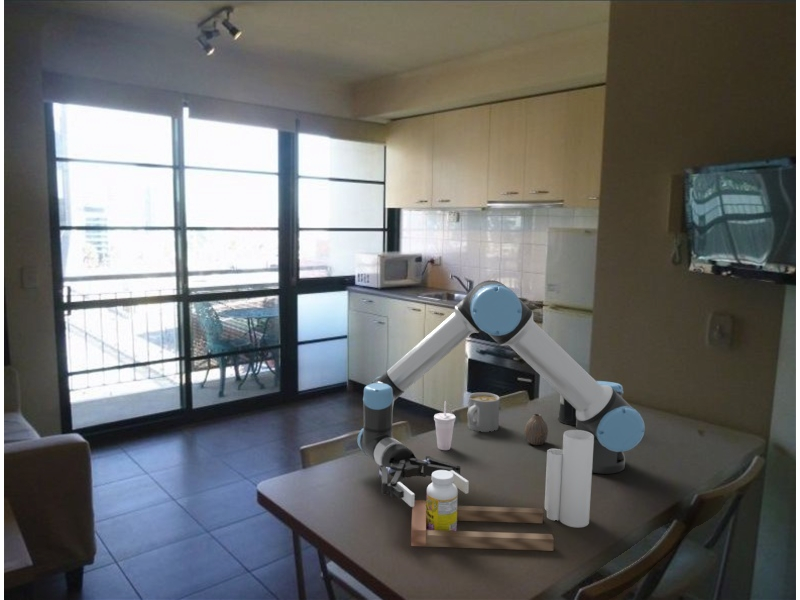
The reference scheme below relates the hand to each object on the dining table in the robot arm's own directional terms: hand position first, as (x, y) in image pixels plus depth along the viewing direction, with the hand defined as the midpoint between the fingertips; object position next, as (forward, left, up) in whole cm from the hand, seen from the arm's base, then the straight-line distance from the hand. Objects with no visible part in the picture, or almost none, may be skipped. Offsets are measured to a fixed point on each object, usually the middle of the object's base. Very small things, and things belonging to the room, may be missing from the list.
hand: (440, 493), depth 126 cm
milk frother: (-49, -71, -9) cm, 87 cm away
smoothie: (-2, -48, -9) cm, 48 cm away
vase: (-30, -54, -9) cm, 62 cm away
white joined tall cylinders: (-28, -9, -9) cm, 31 cm away
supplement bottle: (0, 0, -9) cm, 9 cm away
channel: (-9, -1, -9) cm, 13 cm away
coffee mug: (-14, -66, -9) cm, 68 cm away
